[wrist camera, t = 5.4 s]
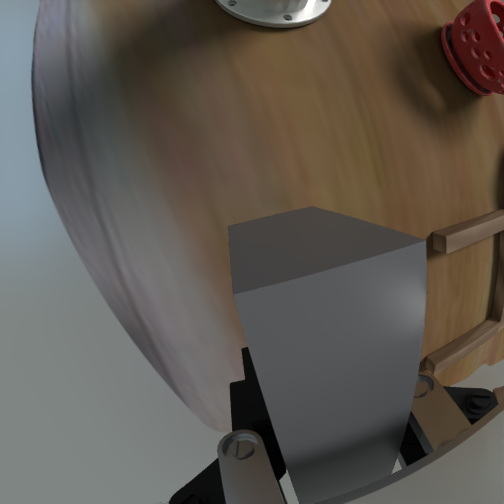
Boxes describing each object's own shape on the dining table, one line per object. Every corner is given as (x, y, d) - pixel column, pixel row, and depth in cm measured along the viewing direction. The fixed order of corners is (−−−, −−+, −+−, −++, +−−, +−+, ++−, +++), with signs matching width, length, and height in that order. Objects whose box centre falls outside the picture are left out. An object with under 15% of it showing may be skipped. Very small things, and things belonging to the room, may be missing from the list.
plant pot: (440, 8, 19) (489, -19, 7) (493, 71, 22) (545, 61, 10) (419, 47, 21) (484, 15, 9) (480, 121, 24) (546, 116, 12)
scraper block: (227, 226, 9) (233, 294, 4) (312, 206, 9) (426, 240, 4) (286, 442, 12) (309, 531, 7) (338, 427, 12) (376, 509, 7)
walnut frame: (432, 232, 26) (446, 236, 24) (505, 207, 27) (516, 210, 25) (424, 366, 32) (433, 375, 29) (495, 321, 32) (503, 327, 30)
